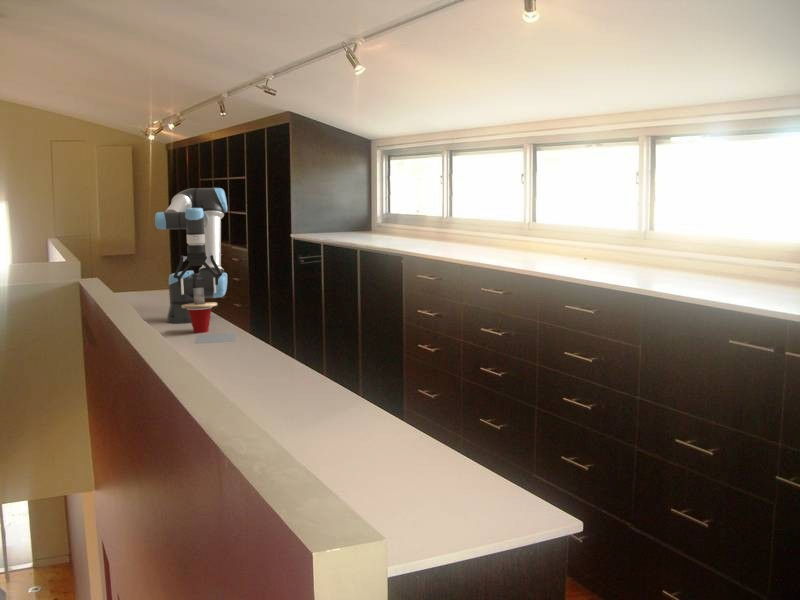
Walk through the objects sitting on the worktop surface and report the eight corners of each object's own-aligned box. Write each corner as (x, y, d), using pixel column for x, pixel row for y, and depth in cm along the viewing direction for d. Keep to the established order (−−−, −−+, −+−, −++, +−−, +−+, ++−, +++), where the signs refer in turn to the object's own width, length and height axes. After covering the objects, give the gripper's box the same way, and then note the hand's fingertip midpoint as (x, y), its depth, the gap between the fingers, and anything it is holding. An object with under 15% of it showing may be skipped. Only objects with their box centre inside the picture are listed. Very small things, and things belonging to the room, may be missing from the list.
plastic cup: (211, 330, 354) (210, 303, 352) (215, 334, 344) (214, 307, 342) (186, 332, 350) (185, 305, 348) (190, 337, 340) (188, 309, 338)
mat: (197, 337, 339) (197, 334, 339) (236, 335, 342) (236, 332, 342) (195, 345, 323) (195, 343, 322) (235, 343, 325) (235, 341, 325)
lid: (183, 306, 351) (182, 288, 350) (218, 304, 353) (217, 286, 353) (180, 309, 336) (178, 290, 335) (216, 306, 339) (215, 288, 338)
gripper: (165, 245, 334) (168, 295, 338) (225, 244, 339) (228, 293, 342) (166, 244, 342) (169, 293, 345) (226, 242, 346) (228, 290, 350)
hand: (198, 293), depth 344 cm, fingers open, 13 cm apart
